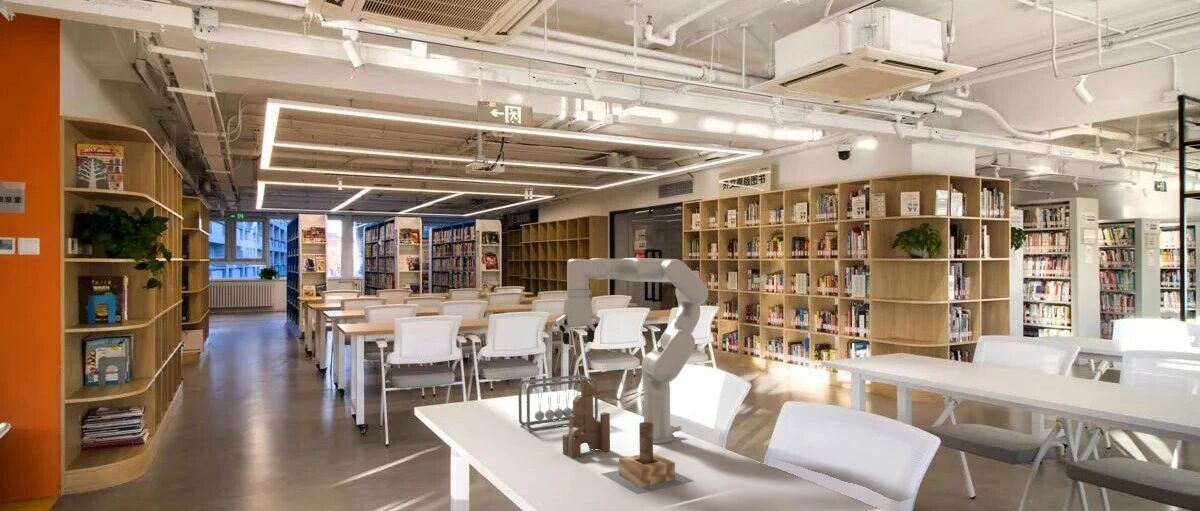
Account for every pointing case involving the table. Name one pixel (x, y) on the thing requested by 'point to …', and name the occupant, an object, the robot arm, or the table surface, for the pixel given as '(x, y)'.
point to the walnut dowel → (646, 442)
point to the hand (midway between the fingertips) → (578, 342)
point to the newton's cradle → (549, 413)
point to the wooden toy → (586, 424)
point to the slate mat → (637, 489)
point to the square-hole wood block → (646, 470)
